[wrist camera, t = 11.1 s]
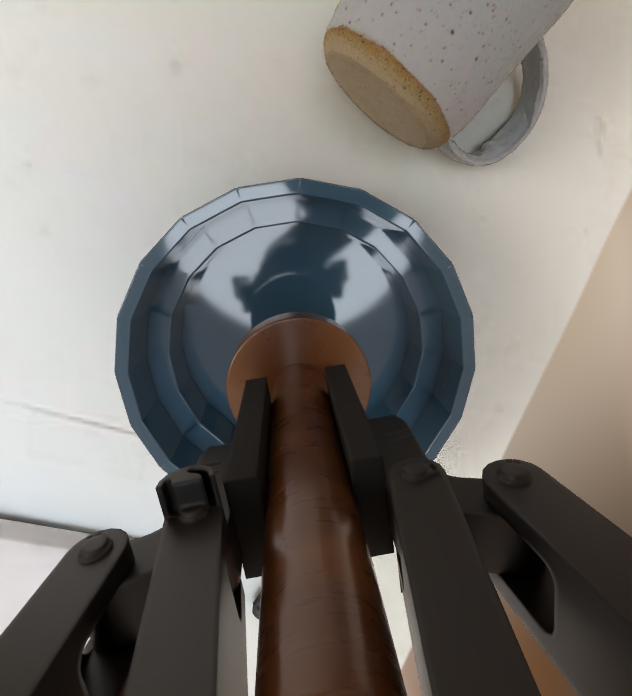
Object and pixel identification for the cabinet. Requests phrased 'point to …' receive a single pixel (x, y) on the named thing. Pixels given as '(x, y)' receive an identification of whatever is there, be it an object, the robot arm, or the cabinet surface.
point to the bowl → (290, 296)
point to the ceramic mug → (442, 66)
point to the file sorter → (28, 562)
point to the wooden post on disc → (313, 521)
